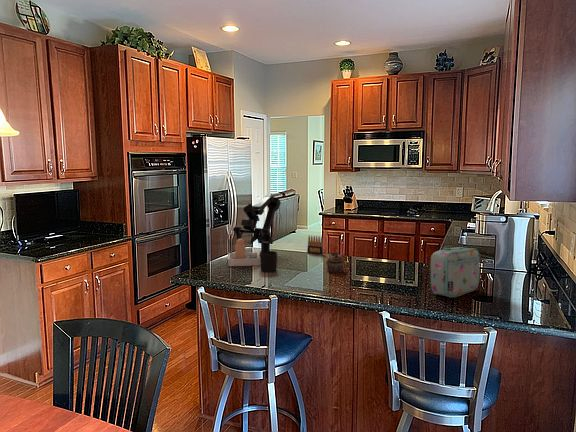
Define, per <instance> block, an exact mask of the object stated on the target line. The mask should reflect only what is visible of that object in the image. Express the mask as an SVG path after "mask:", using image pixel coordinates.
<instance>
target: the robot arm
mask: <svg viewBox="0 0 576 432" xmlns="http://www.w3.org/2000/svg"><path fill="white" fill-rule="evenodd" d="M281 203H282V201H281V200H280V199H279V198H277V197H275V196H273V195H271V194H270V195H268V194H266V195H264V198H262V200H261V201H259V202H258V203H256V204H253V205H252V203H248V205H245V206H244V207H243V212H244V214H245V216H246V217H247V218H248V219H241V223H240V225H241V226H242V228H243V229H242V228H241V226H234V227H233V229H232V231H233V232H234V234H235V236H236V240H238V239H242V236H243V234H252V237H251V239H250V242H249V243H250V244H251V245H252V244H253V243H254V242H256V241H257V242H258V244H260V247H261V248H260V251H259V253H260V252H261V253H265V252H267V251H271V246H270V245H272V244H273V242H274V239H273V237H272V233H271V228H272V224H273V221H274V217H275V214H276V212H277V211H278V210H279V209H280V207H281ZM266 208H268V210H267V213H266V217H265V219H264V224H263V226H262V228H261V227H260V228H259V227H257V224H258V222H260V217H259V216H262V215H263V214H264V212H265V209H266Z"/></svg>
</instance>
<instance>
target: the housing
mask: <svg viewBox="0 0 576 432" xmlns="http://www.w3.org/2000/svg"><path fill="white" fill-rule="evenodd" d="M245 257H246V258H245V259H235V252H228V260H227V261H228V267H245V266H246V267H248V266H249V267H250V266H252V265H254V266H260V253H259V251H258V252H245Z"/></svg>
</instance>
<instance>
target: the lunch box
mask: <svg viewBox="0 0 576 432" xmlns="http://www.w3.org/2000/svg"><path fill="white" fill-rule="evenodd" d="M480 258H481V257H480V252H479V250H478V249H477V248H475V247H474V248H473V247H472V248H468V247H462V246H461V247H460V246H457V247H450V248H449V247H443V248H442V249H439V250H437V251H435V252H433V253H432V254H431V256H430V267H429V268H430V289H431V292H432V293H433V294H434V295H439V296H443V297H447V298H457V297H460V296H462V295H463V296H464V295H465V294H469V293H471V292H474V291H476V289H478V287H479V285H480V277H481V274H480V265H481V264H480V263H481V262H480V260H481V259H480Z"/></svg>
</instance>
